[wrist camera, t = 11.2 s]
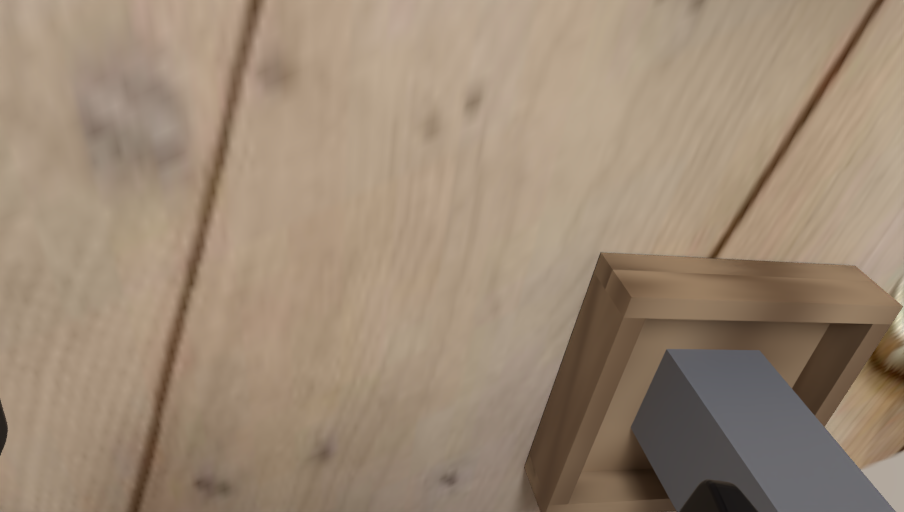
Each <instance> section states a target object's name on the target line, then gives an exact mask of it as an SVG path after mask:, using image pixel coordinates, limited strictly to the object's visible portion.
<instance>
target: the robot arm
mask: <svg viewBox="0 0 904 512" xmlns="http://www.w3.org/2000/svg"><path fill="white" fill-rule="evenodd" d="M7 432H8V426H7V421H6V418H5V414H4V411H3V407H2V404H1V400H0V455H1V452H2V450H3V448H4V445H5V442H6V438H7ZM679 512H758V510H757V509H756V508H755V507H754V506H753V504H752V503H751V502H750V501H749V499H748V498H747V497H746V496H745V495H744V493H743V492H742V491H741V490H740V489H739V488H738V487H737V486H736V485H735V484H733V483H730V482H726V481H718V480H711V479H706V480H703V481H701V482H700V483H699V484H698V486H697V487H696V488H695V490H694V491H693V493H692V494H691V495H690V497H689V498H688V499H687V501H686V502H685V503H684V505H683V506H682V508H681V509H680V511H679Z"/></svg>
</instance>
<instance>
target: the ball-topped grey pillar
mask: <svg viewBox="0 0 904 512" xmlns="http://www.w3.org/2000/svg"><path fill="white" fill-rule="evenodd" d="M631 429H632V431H633V433H634V435H635V436H636V438H637V440H638V442H639V444H640V445H641V447H642V449H643V451H644V453H645V455H646V456H647V458H648V460H649V462H650V464H651V466H652V467H653V469H654V471H655V473H656V475H657V476H658V478H659V480H660V482H661V484H662V486H663V487H664V489H665V491H666V493H667V495H668V497H669V498H670V500H671V502H672V504H673V506H674V507H675V509H676V511H677V512H679V511H680V509H681V508H682V506H683V505H684V503H685V502H686V501H687V499H688V498H689V497H690V495H691V494H692V493H693V491H694V490H695V488H696V487H697V486H698V484H699V483H700V482H701V481H703V480H706V479H711V480H718V481H726V482H730V483H733V484H735V485H736V486H737V487H738V488H739V489H740V490H741V491H742V492H743V493H744V495H745V496H746V497H747V498H748V499H749V501H750V502H751V503H752V504H753V506H754V507H755V508H756V509H757V510H758V512H895V510H894V509H893V508H892V507H891V506H890V505H889V503H888V502H887V501H886V500H885V498H884V497H883V496H882V495H881V494H880V493H879V491H878V490H877V489H876V488H875V487H874V486H873V484H872V483H871V482H870V481H869V480H868V478H867V477H866V476H865V475H864V474H863V472H862V471H861V470H860V469H859V468H858V466H857V465H856V464H855V463H854V462H853V461H852V459H851V458H850V457H849V456H848V455H847V453H846V452H845V451H844V450H843V449H842V447H841V446H840V445H839V444H838V443H837V442H836V440H835V439H834V438H833V437H832V436H831V434H830V433H829V432H828V431H827V430H826V428H825V427H824V426H823V425H822V424H821V423H820V421H819V420H818V419H817V418H816V417H815V415H814V414H813V413H812V412H811V411H810V410H809V408H808V407H807V406H806V405H805V404H804V402H803V401H802V400H801V399H800V398H799V396H798V395H797V394H796V393H795V392H794V391H793V389H792V388H791V387H790V386H789V385H788V383H787V382H786V381H785V380H784V379H783V378H782V376H781V375H780V374H779V373H778V372H777V370H776V369H775V368H774V367H773V366H772V364H771V363H770V362H769V361H768V360H767V359H766V357H765V356H764V355H763V354H762V353H761V351H760V350H706V349H666V351H665V353H664V355H663V358H662V360H661V362H660V364H659V366H658V369H657V371H656V373H655V375H654V377H653V380H652V382H651V384H650V386H649V388H648V390H647V393H646V395H645V397H644V399H643V401H642V404H641V406H640V408H639V410H638V412H637V415H636V417H635V419H634V421H633V423H632V425H631Z"/></svg>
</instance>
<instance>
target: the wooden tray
mask: <svg viewBox="0 0 904 512" xmlns="http://www.w3.org/2000/svg"><path fill="white" fill-rule="evenodd" d="M902 307H903V306H902V305H901V304H900V303H898V302H897V301H896V300H895V299H894V298H892V297H891V296H890V295H889V294H888V293H887V292H885V291H884V290H883V289H882V288H881V287H880V286H878V285H877V284H876V283H875V282H874V281H872V280H871V279H870V278H869V277H868V276H867V275H865V274H864V273H863V272H862V271H861V270H859V269H858V268H857V267H856V266H847V265H828V264H809V263H790V262H771V261H751V260H732V259H713V258H694V257H675V256H656V255H636V254H617V253H601V254H600V257H599V260H598V263H597V265H596V268H595V271H594V274H593V277H592V279H591V282H590V285H589V288H588V291H587V293H586V296H585V299H584V302H583V305H582V307H581V310H580V313H579V316H578V319H577V321H576V324H575V327H574V330H573V333H572V335H571V338H570V341H569V344H568V347H567V349H566V352H565V355H564V358H563V361H562V363H561V366H560V369H559V372H558V375H557V377H556V380H555V383H554V386H553V389H552V391H551V394H550V397H549V400H548V403H547V405H546V408H545V411H544V414H543V417H542V419H541V422H540V425H539V428H538V431H537V433H536V436H535V439H534V442H533V445H532V447H531V450H530V453H529V456H528V459H527V461H526V464H525V467H524V468H525V471H526V473H527V476H528V479H529V482H530V484H531V487H532V490H533V493H534V495H535V498H536V501H537V503H538V506H539V509H540V512H665V511H676V509H675V507H674V506H673V504H672V502H671V500H670V498H669V497H668V495H667V493H666V491H665V489H664V487H663V486H662V484H661V482H660V480H659V478H658V476H657V475H656V473H655V471H654V469H653V467H652V466H651V464H650V462H649V460H648V458H647V456H646V455H645V453H644V451H643V449H642V447H641V445H640V444H639V442H638V440H637V438H636V436H635V435H634V433H633V431H632V429H631V425H632V423H633V421H634V419H635V417H636V415H637V412H638V410H639V408H640V406H641V404H642V401H643V399H644V397H645V395H646V393H647V390H648V388H649V386H650V384H651V382H652V380H653V377H654V375H655V373H656V371H657V369H658V366H659V364H660V362H661V360H662V358H663V355H664V353H665V351H666V349H706V350H760V351H761V353H762V354H763V355H764V356H765V357H766V359H767V360H768V361H769V362H770V363H771V364H772V366H773V367H774V368H775V369H776V370H777V372H778V373H779V374H780V375H781V376H782V378H783V379H784V380H785V381H786V382H787V383H788V385H789V386H790V387H791V388H792V389H793V391H794V392H795V393H796V394H797V395H798V396H799V398H800V399H801V400H802V401H803V402H804V404H805V405H806V406H807V407H808V408H809V410H810V411H811V412H812V413H813V414H814V415H815V417H816V418H817V419H818V420H819V421H820V423H821V424H822V425H823V426H824V427H825V425H826V424H827V422H828V421H829V419H830V418H831V416H832V415H833V413H834V411H835V410H836V408H837V407H838V405H839V404H840V402H841V401H842V399H843V398H844V396H845V395H846V393H847V392H848V390H849V388H850V387H851V385H852V384H853V382H854V381H855V379H856V378H857V376H858V375H859V373H860V372H861V370H862V369H863V367H864V365H865V364H866V362H867V361H868V359H869V358H870V356H871V355H872V353H873V352H874V350H875V349H876V347H877V345H878V344H879V342H880V341H881V339H882V338H883V336H884V335H885V333H886V332H887V330H888V329H889V327H890V326H891V324H892V322H893V321H894V319H895V318H896V316H897V315H898V313H899V312H900V310H901V309H902Z"/></svg>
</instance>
